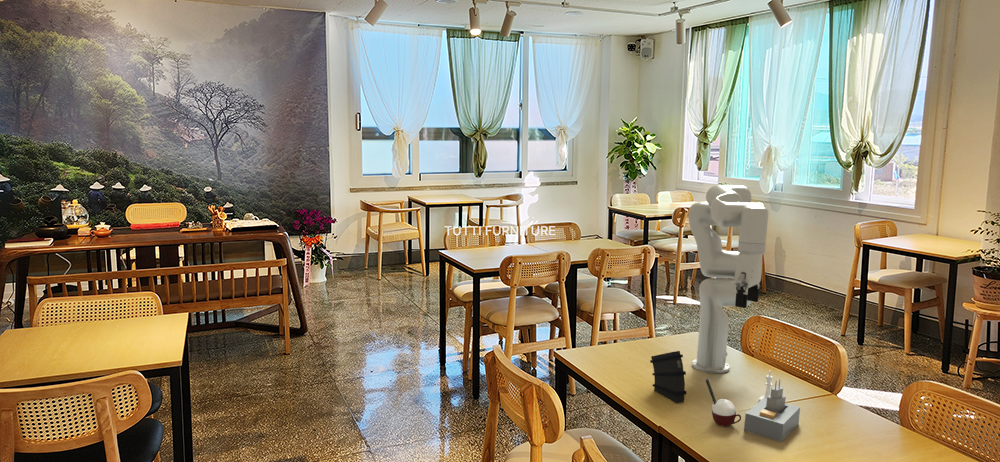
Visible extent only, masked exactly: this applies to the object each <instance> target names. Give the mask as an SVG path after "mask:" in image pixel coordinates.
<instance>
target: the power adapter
mask: <svg viewBox="0 0 1000 462" xmlns="http://www.w3.org/2000/svg"><path fill="white" fill-rule="evenodd" d="M778 379H779V380H778V381H777V380H775V384H774V386H771V387H770V393H771V395H769V396H767V403H766V409H767V410H770V411H774V412H777V413H782V412H783V411H784V410H785V403H786V399H787V397H786V395H785V394H784V393H783V392H784V387H783V386H781V379H780V378H778ZM777 382H778V385H777Z"/></svg>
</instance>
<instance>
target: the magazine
mask: <svg viewBox="0 0 1000 462" xmlns="http://www.w3.org/2000/svg"><path fill="white" fill-rule="evenodd" d="M683 357H684V355H683V354H681V352H680V350H676V351H670V352H665V353H661V354H656V355H652V356H650V358H651V360H649V363H650V364H652V366H653V372H652V376H654V383H653V384H652V387H654V388H653V389H654V391H653V392H655V393H657V394H658V395H661V396H662V397H664V398H666V399H667V400H670V401H672V402H673V403H674V404H682V403H685V395H687V390H685V389H686V387H685V385H686V382H685V380H686V379H685V375H687V372H686V370H684V364H683V359H682V358H683Z"/></svg>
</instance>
